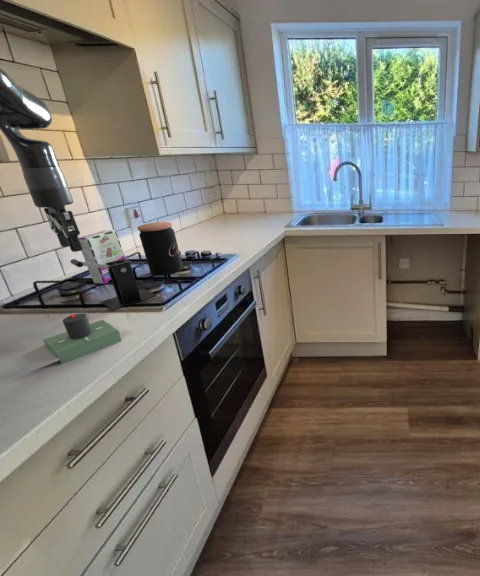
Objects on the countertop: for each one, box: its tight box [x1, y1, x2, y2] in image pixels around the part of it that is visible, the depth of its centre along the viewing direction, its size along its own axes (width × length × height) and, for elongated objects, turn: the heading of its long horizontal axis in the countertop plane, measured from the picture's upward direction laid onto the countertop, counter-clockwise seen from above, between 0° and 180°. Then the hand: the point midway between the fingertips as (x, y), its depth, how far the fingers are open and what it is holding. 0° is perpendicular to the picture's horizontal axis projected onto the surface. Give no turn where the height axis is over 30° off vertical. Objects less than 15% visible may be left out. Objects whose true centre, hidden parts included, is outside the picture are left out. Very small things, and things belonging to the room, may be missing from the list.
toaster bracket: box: [100, 259, 158, 311], centre depth 108 cm, size 12×10×13 cm
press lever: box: [69, 258, 118, 271], centre depth 102 cm, size 12×5×2 cm, turn 144°
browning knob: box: [62, 313, 93, 339], centre depth 85 cm, size 4×4×5 cm
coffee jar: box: [136, 221, 184, 277], centre depth 130 cm, size 11×11×18 cm
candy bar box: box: [78, 229, 127, 285], centre depth 127 cm, size 11×5×16 cm, turn 170°
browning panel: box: [42, 319, 122, 365], centre depth 87 cm, size 12×10×3 cm
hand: (72, 248), depth 96 cm, fingers open, 8 cm apart
